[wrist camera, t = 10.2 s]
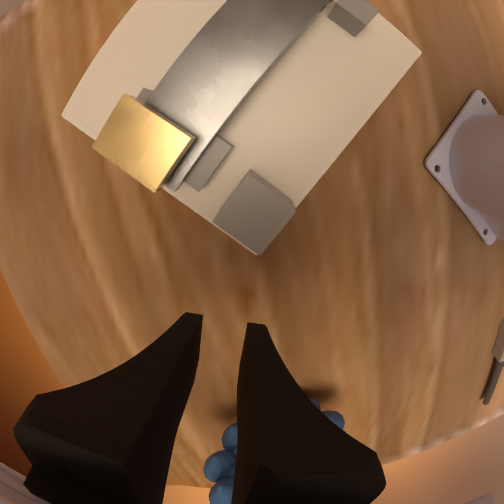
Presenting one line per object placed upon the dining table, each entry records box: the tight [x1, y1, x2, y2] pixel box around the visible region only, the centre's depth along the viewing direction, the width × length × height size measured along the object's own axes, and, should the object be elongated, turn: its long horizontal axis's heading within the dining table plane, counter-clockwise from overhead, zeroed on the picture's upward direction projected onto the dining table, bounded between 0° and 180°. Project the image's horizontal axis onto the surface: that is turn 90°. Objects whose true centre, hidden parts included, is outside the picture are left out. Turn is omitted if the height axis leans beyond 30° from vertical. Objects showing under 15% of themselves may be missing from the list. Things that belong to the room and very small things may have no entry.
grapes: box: [204, 397, 345, 504], centre depth 21 cm, size 12×7×12 cm, turn 108°
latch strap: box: [145, 0, 333, 192], centre depth 14 cm, size 15×4×1 cm, turn 143°
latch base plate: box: [61, 0, 422, 256], centre depth 15 cm, size 16×17×4 cm
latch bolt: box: [92, 94, 196, 193], centre depth 14 cm, size 4×3×1 cm
